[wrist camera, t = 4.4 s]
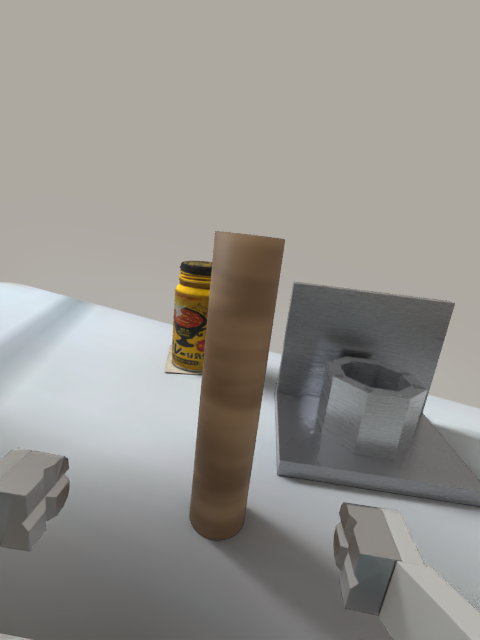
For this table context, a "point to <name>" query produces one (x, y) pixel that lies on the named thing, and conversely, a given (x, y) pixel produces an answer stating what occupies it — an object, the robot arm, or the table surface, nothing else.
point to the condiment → (190, 318)
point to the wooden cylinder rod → (233, 378)
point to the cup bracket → (365, 394)
